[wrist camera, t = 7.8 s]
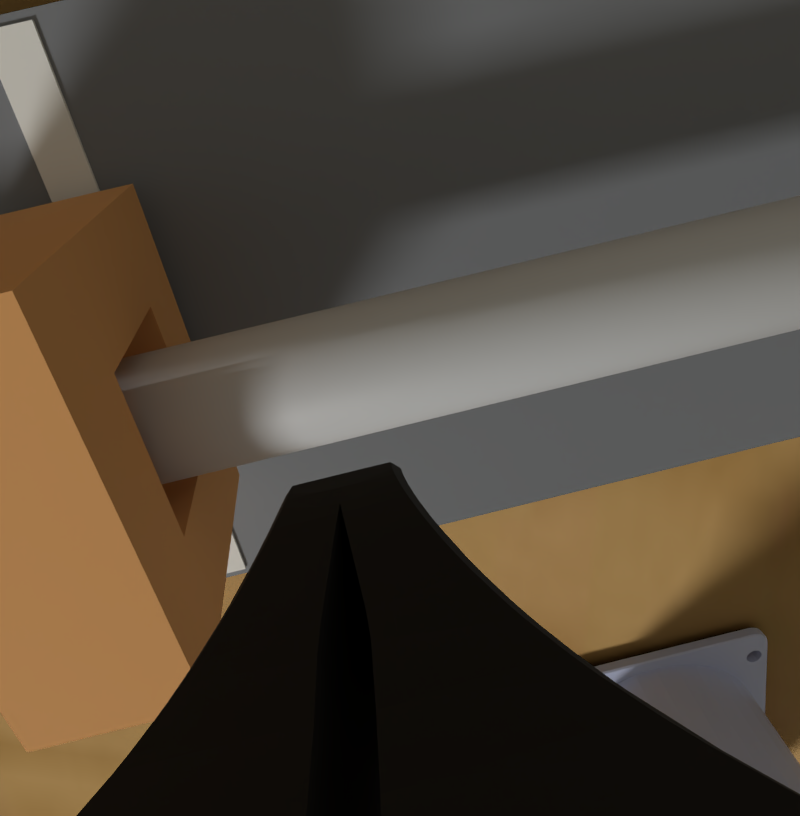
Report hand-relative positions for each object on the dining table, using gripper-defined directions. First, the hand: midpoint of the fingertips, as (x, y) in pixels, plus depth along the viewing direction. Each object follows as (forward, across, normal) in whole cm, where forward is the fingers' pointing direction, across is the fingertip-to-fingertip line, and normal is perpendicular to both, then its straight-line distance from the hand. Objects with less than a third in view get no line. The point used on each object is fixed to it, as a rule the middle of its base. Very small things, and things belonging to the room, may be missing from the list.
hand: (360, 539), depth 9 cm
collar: (+9, +5, 0) cm, 10 cm away
